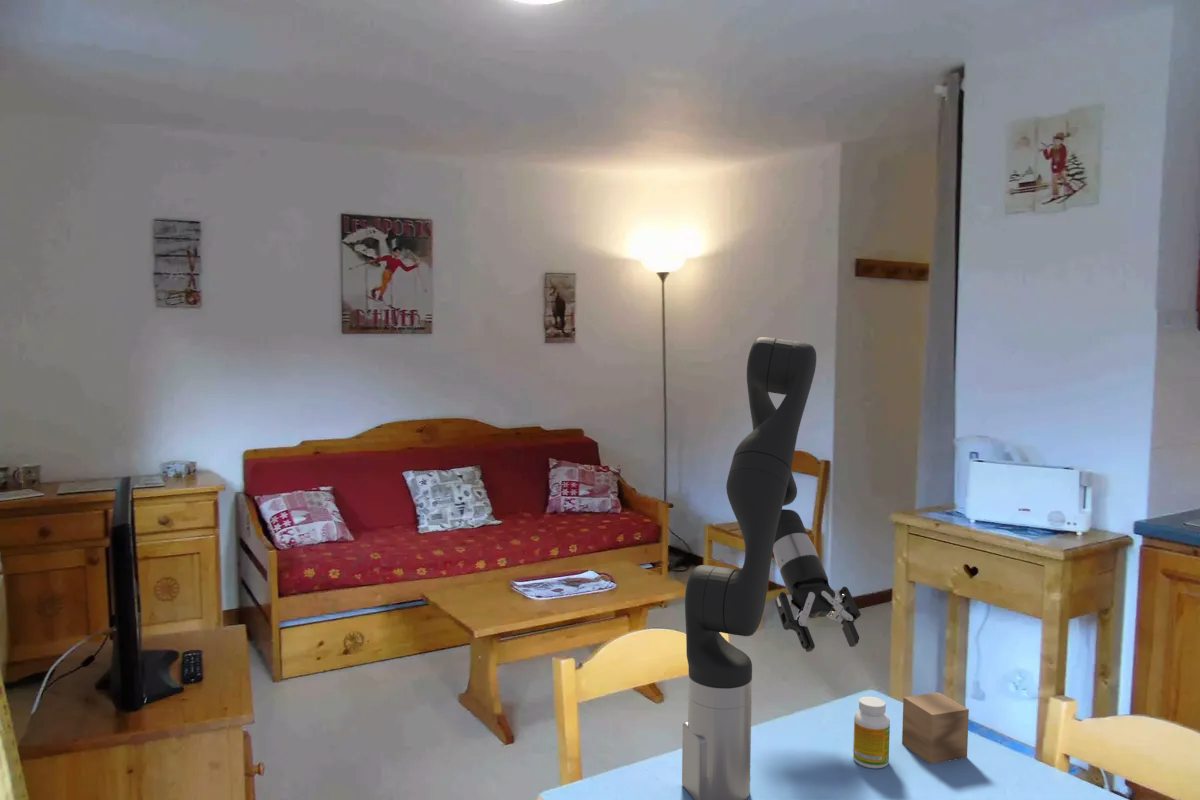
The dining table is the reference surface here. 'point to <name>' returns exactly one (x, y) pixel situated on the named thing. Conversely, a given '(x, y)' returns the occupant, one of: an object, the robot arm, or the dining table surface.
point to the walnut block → (935, 727)
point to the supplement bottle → (871, 733)
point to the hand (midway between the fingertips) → (833, 647)
